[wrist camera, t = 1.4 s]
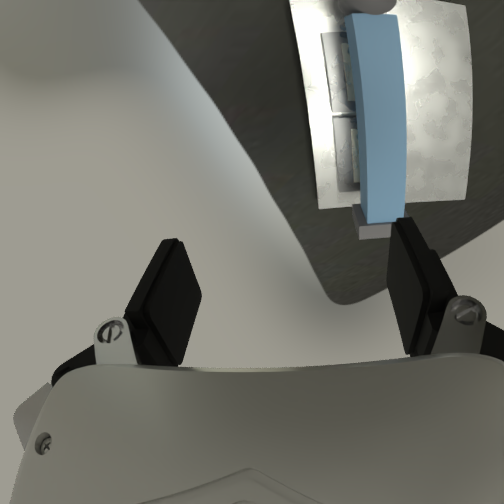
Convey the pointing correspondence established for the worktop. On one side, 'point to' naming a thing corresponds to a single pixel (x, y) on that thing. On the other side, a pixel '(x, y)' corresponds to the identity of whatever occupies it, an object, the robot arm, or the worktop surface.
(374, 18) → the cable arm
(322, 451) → the robot arm
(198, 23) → the worktop surface
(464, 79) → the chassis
